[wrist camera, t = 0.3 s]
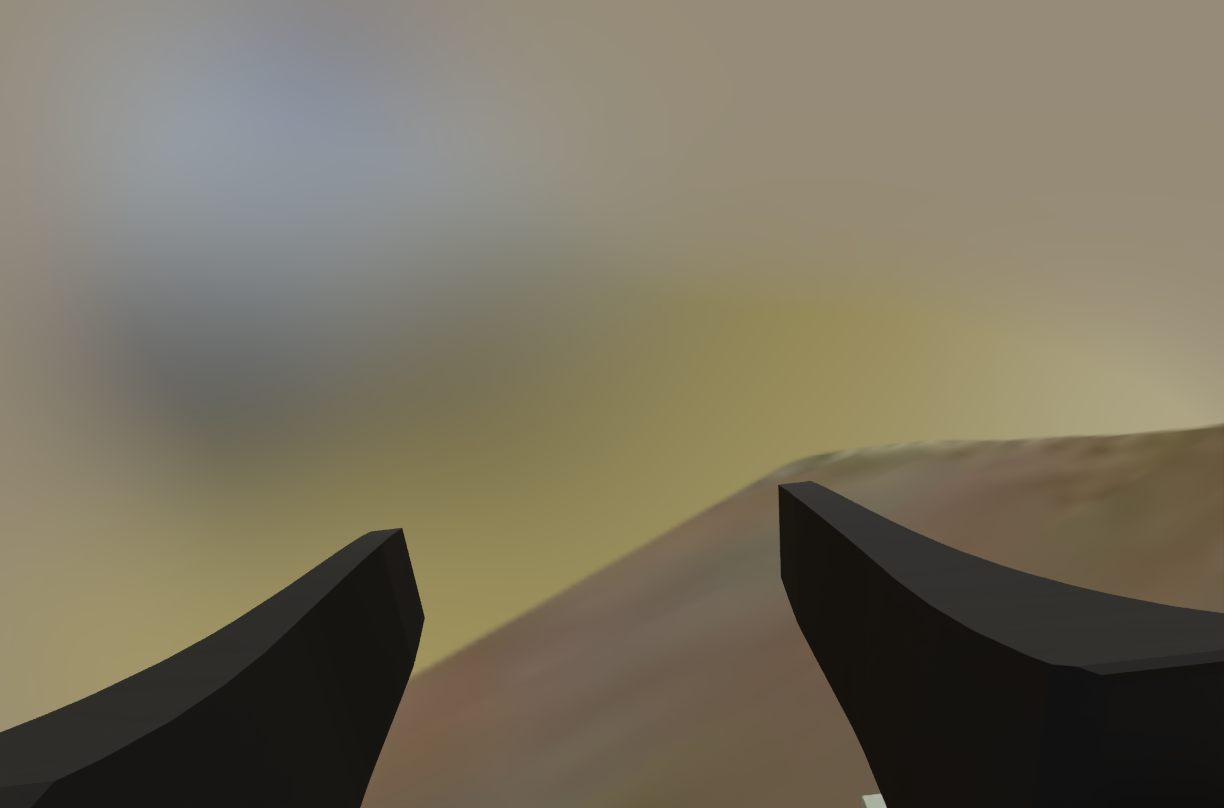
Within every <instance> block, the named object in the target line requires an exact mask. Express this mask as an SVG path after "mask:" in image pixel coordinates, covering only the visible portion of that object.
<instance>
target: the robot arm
mask: <svg viewBox="0 0 1224 808" xmlns="http://www.w3.org/2000/svg"><path fill="white" fill-rule="evenodd" d="M778 488H779V523H780V559H781V579H782V581H783V584H784V587H785V590H786V593H787V596H788V599H789V601H790V604H791V607H792V609H793V612H794V615H795V617H796V620H797V623H798V625H799V627H800V629H801V631H802V632H803V634H804V636H805V638H806V640H807V642H808V644H809V646H810V648H811V650H812V652H813V654H814V656H815V658H816V659H817V661H818V663H819V665H820V667H821V669H822V671H823V673H824V674H825V676H826V678H827V680H828V682H829V684H830V686H831V688H832V690H833V691H834V693H835V695H836V697H837V699H838V701H839V703H840V705H841V707H842V708H843V710H844V712H845V714H846V716H847V718H848V720H849V722H850V724H851V725H852V727H853V730H854V732H855V734H856V736H857V738H858V740H859V742H860V744H861V746H862V749H863V751H864V753H865V755H866V758H867V760H868V763H869V765H870V768H871V770H872V773H873V775H874V778H875V780H876V782H877V785H878V787H879V790H880V792H881V795H882V797H883V800H884V802H885V805H886V807H887V808H1224V613H1217V612H1210V611H1203V610H1196V609H1189V608H1181V607H1175V606H1169V605H1163V604H1158V603H1153V602H1148V601H1142V600H1137V599H1132V598H1127V597H1122V596H1117V595H1112V594H1107V593H1103V592H1098V591H1094V590H1090V589H1085V588H1081V587H1077V586H1073V585H1069V584H1065V583H1061V582H1058V581H1054V580H1050V579H1046V578H1043V577H1039V576H1035V575H1032V574H1028V573H1024V572H1021V571H1018V570H1015V569H1011V568H1008V567H1005V566H1002V565H999V564H996V563H993V562H990V561H987V560H984V559H982V558H979V557H976V556H973V555H970V554H967V553H964V552H962V551H959V550H957V549H954V548H951V547H949V546H946V545H944V544H941V543H939V542H937V541H934V540H932V539H930V538H928V537H925V536H923V535H921V534H918V533H916V532H914V531H911V530H909V529H907V528H905V527H903V526H901V525H899V524H896V523H894V522H892V521H890V520H888V519H886V518H884V517H882V516H880V515H878V514H876V513H874V512H872V511H870V510H868V509H866V508H864V507H862V506H860V505H858V504H857V503H855V502H853V501H851V500H849V499H847V498H845V497H843V496H841V495H839V494H837V493H835V492H833V491H831V490H829V489H827V488H825V487H823V486H821V485H819V484H817V483H814V482H811V481H808V482H799V483H790V484H782V485H778ZM424 618H425V617H424V613H423V609H422V605H421V601H420V597H419V593H418V589H417V585H416V581H415V577H414V573H413V569H412V565H411V561H410V557H409V553H408V549H407V545H406V541H405V537H404V533H403V529H402V528H398V529H389V530H381V531H372V532H369V533H367V534H365V535H363V536H361V537H360V538H358V539H356V540H355V541H353V542H352V543H350V544H349V545H347V546H346V547H344V548H343V549H341V550H340V551H338V552H337V553H335V554H334V555H333V556H331V557H330V558H328V559H327V560H325V561H324V562H322V563H321V564H319V565H318V566H316V567H315V568H314V569H312V570H311V571H309V572H308V573H306V574H305V575H303V576H302V577H301V578H299V579H298V580H296V581H295V582H293V583H292V584H290V585H289V586H288V587H286V588H285V589H283V590H281V591H280V592H278V593H277V594H275V595H274V596H272V597H271V598H269V599H268V600H266V601H264V602H263V603H261V604H260V605H258V606H257V607H255V608H254V609H252V610H251V611H249V612H247V613H246V614H244V615H243V616H241V617H240V618H238V619H237V620H235V621H234V622H232V623H231V624H228V625H227V626H225V627H223V628H222V629H220V630H218V631H217V632H215V633H214V634H211V635H210V636H208V637H206V638H205V639H203V640H201V641H199V642H197V643H195V644H193V645H192V646H190V647H188V648H186V649H184V650H182V651H181V652H179V653H177V654H175V655H173V656H172V657H170V658H168V659H166V660H164V661H162V662H160V663H158V664H156V665H154V666H152V667H149V668H148V669H145V670H143V671H141V672H139V673H137V674H135V675H133V676H131V677H129V678H126V679H124V680H122V681H120V682H118V683H116V684H114V685H112V686H110V687H107V688H106V689H103V690H101V691H99V692H97V693H95V694H93V695H90V696H88V697H86V698H84V699H81V700H79V701H77V702H74V703H72V704H70V705H67V706H65V707H62V708H60V709H58V710H56V711H53V712H51V713H48V714H46V715H44V716H41V717H38V718H36V719H33V720H31V721H28V722H26V723H23V724H21V725H18V726H16V727H13V728H11V729H8V730H5V731H3V732H0V808H360V807H361V804H362V801H363V798H364V795H365V792H366V789H367V786H368V783H369V780H370V778H371V775H372V773H373V770H374V767H375V765H376V762H377V760H378V757H379V755H380V752H381V750H382V747H383V744H384V742H385V739H386V737H387V734H388V732H389V729H390V727H391V724H392V721H393V719H394V716H395V714H396V711H397V709H398V706H399V704H400V701H401V698H402V696H403V693H404V690H405V688H406V685H407V682H408V680H409V677H410V674H411V672H412V669H413V666H414V662H415V658H416V654H417V650H418V646H419V642H420V637H421V632H422V628H423V623H424Z"/></svg>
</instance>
